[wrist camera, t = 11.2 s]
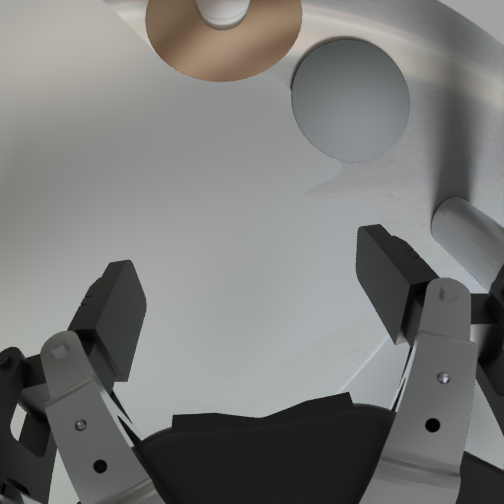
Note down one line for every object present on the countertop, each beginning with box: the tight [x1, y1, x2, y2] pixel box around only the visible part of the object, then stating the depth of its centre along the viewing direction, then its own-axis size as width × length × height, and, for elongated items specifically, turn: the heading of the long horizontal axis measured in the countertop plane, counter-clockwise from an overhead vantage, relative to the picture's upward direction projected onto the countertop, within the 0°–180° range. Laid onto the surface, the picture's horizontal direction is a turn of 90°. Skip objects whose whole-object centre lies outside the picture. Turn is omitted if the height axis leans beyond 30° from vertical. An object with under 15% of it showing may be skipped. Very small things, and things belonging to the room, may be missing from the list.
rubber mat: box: [291, 40, 410, 162], centre depth 34 cm, size 17×17×1 cm
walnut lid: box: [145, 0, 302, 82], centre depth 19 cm, size 14×14×6 cm
